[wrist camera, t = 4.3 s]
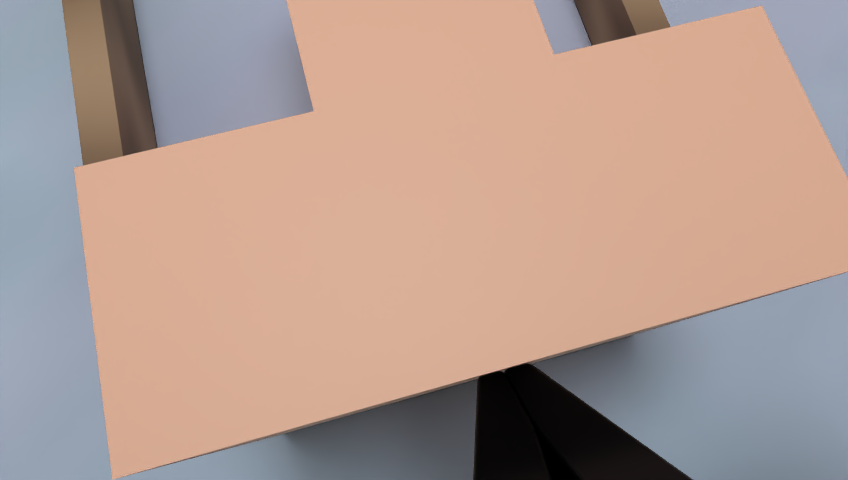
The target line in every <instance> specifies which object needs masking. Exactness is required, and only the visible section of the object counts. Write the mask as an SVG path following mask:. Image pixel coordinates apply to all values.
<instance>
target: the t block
mask: <svg viewBox="0 0 848 480" xmlns="http://www.w3.org/2000/svg"><path fill="white" fill-rule="evenodd" d="M286 1H287V5H288V9H289V13H290V17H291V21H292V25H293V29H294V33H295V37H296V41H297V45H298V49H299V53H300V57H301V61H302V65H303V69H304V73H305V77H306V82H307V86H308V90H309V94H310V98H311V102H312V106H313V110H314V111H313V112H309V113H304V114H300V115H296V116H292V117H287V118H283V119H279V120H275V121H270V122H266V123H262V124H258V125H253V126H249V127H245V128H241V129H236V130H232V131H228V132H224V133H219V134H215V135H211V136H207V137H202V138H198V139H194V140H190V141H185V142H181V143H177V144H173V145H169V146H164V147H160V148H156V149H152V150H147V151H143V152H139V153H135V154H130V155H126V156H122V157H118V158H113V159H109V160H105V161H101V162H96V163H92V164H88V165H84V166H79V167H75V168H74V172H75V180H76V188H77V196H78V204H79V212H80V220H81V228H82V236H83V245H84V253H85V261H86V269H87V277H88V285H89V293H90V301H91V309H92V317H93V325H94V333H95V341H96V350H97V358H98V366H99V374H100V382H101V390H102V398H103V406H104V414H105V422H106V430H107V438H108V446H109V455H110V463H111V471H112V479H116V478H120V477H124V476H127V475H131V474H135V473H139V472H142V471H146V470H150V469H154V468H157V467H161V466H165V465H169V464H172V463H176V462H180V461H184V460H187V459H191V458H195V457H199V456H202V455H206V454H210V453H214V452H217V451H221V450H225V449H229V448H232V447H236V446H240V445H244V444H247V443H251V442H255V441H259V440H262V439H266V438H270V437H274V436H277V435H281V434H285V433H288V432H292V431H295V430H299V429H302V428H306V427H309V426H313V425H317V424H320V423H324V422H327V421H331V420H334V419H338V418H341V417H345V416H348V415H352V414H355V413H359V412H362V411H366V410H369V409H373V408H377V407H380V406H384V405H387V404H391V403H394V402H398V401H401V400H405V399H408V398H412V397H415V396H419V395H422V394H426V393H430V392H433V391H437V390H440V389H444V388H447V387H451V386H454V385H458V384H461V383H465V382H468V381H472V380H475V379H478V378H479V377H480V376H483V375H487V374H490V373H494V372H497V371H502V372H504V371H505V370H506V369H508V368H512V367H515V366H519V365H522V364H526V363H529V364H532V363H535V362H539V361H542V360H546V359H550V358H553V357H557V356H560V355H564V354H567V353H571V352H574V351H578V350H581V349H585V348H588V347H592V346H595V345H599V344H602V343H606V342H610V341H613V340H617V339H620V338H624V337H627V336H631V335H634V334H638V333H641V332H645V331H648V330H651V329H655V328H658V327H662V326H665V325H668V324H672V323H675V322H679V321H682V320H685V319H689V318H692V317H696V316H699V315H703V314H706V313H709V312H713V311H716V310H720V309H723V308H726V307H730V306H733V305H737V304H740V303H743V302H747V301H750V300H754V299H757V298H761V297H764V296H767V295H771V294H774V293H778V292H781V291H784V290H788V289H791V288H795V287H798V286H801V285H805V284H808V283H812V282H815V281H819V280H822V279H825V278H829V277H832V276H836V275H839V274H842V273H846V272H848V178H847V176H846V174H845V172H844V170H843V168H842V166H841V164H840V162H839V160H838V158H837V156H836V154H835V152H834V150H833V148H832V146H831V144H830V142H829V140H828V138H827V136H826V134H825V132H824V130H823V128H822V126H821V124H820V122H819V120H818V118H817V116H816V114H815V112H814V110H813V108H812V106H811V104H810V102H809V99H808V97H807V95H806V93H805V91H804V89H803V87H802V85H801V83H800V81H799V79H798V77H797V75H796V73H795V71H794V69H793V67H792V65H791V63H790V61H789V59H788V57H787V55H786V53H785V51H784V49H783V47H782V45H781V43H780V41H779V39H778V37H777V35H776V33H775V31H774V29H773V27H772V25H771V23H770V21H769V19H768V17H767V15H766V13H765V11H764V9H763V7H762V6H758V7H754V8H750V9H745V10H741V11H737V12H733V13H729V14H724V15H720V16H716V17H712V18H707V19H703V20H699V21H695V22H690V23H686V24H682V25H678V26H673V27H669V28H665V29H661V30H656V31H652V32H648V33H644V34H639V35H635V36H631V37H627V38H622V39H618V40H614V41H610V42H605V43H601V44H597V45H593V46H589V47H584V48H580V49H576V50H572V51H567V52H563V53H559V54H555V55H554V53H553V51H552V48H551V45H550V43H549V40H548V37H547V35H546V32H545V29H544V27H543V24H542V21H541V19H540V16H539V14H538V11H537V8H536V6H535V3H534V0H286Z"/></svg>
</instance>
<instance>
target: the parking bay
mask: <svg viewBox="0 0 848 480" xmlns="http://www.w3.org/2000/svg"><path fill="white" fill-rule="evenodd" d="M574 1H575V3H576V6H577V8H578V11H579V13H580V16H581V18H582V21H583V23H584V26H585V28H586V31H587V33H588V36H589V38H590V41H591V43H592V46H593V45H597V44H601V43H605V42H610V41H614V40H618V39H622V38H627V37H631V36H635V35H639V34H644V33H648V32H652V31H656V30H661V29H665V28H669V27H670V25H669V23H668V21H667V18H666V16H665V14H664V12H663V9H662V7H661V5H660V2H659V0H574ZM62 5H63V13H64V21H65V29H66V36H67V44H68V52H69V59H70V67H71V75H72V83H73V90H74V98H75V106H76V114H77V121H78V129H79V137H80V145H81V152H82V160H83V166H84V165H88V164H92V163H96V162H101V161H105V160H109V159H113V158H118V157H122V156H126V155H130V154H135V153H139V152H143V151H147V150H152V149H156V148H157V144H156V138H155V132H154V126H153V120H152V114H151V108H150V102H149V96H148V90H147V84H146V78H145V72H144V66H143V60H142V54H141V48H140V42H139V36H138V30H137V24H136V18H135V12H134V6H133V0H62Z"/></svg>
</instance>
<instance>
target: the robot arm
mask: <svg viewBox="0 0 848 480" xmlns="http://www.w3.org/2000/svg"><path fill="white" fill-rule="evenodd" d="M473 480H693V479H691V478H690V477H688V476H687V475H686V474H684V473H683V472H681V471H680V470H679V469H677V468H676V467H674V466H673V465H672V464H670V463H669V462H667V461H666V460H665V459H663V458H662V457H660V456H659V455H658V454H656V453H655V452H653V451H652V450H651V449H649V448H648V447H646V446H645V445H644V444H642V443H641V442H639V441H638V440H637V439H635V438H634V437H632V436H631V435H630V434H628V433H627V432H625V431H624V430H623V429H621V428H620V427H618V426H617V425H616V424H614V423H613V422H611V421H610V420H609V419H607V418H606V417H604V416H603V415H602V414H600V413H599V412H597V411H596V410H595V409H593V408H592V407H590V406H589V405H588V404H586V403H585V402H583V401H582V400H581V399H579V398H578V397H576V396H575V395H574V394H572V393H571V392H569V391H568V390H567V389H565V388H564V387H562V386H561V385H560V384H558V383H557V382H556V381H554V380H553V379H551V378H550V377H549V376H547V375H546V374H544V373H543V372H542V371H540V370H539V369H537V368H536V367H535V366H533V365H532V364H529V363H526V364H522V365H519V366H515V367H512V368H508V369H506V370H505V371H504V373H503V372H502V371H497V372H494V373H490V374H487V375H483V376H480V377H479V378H478V381H477V403H476V427H475V450H474V474H473Z"/></svg>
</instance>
